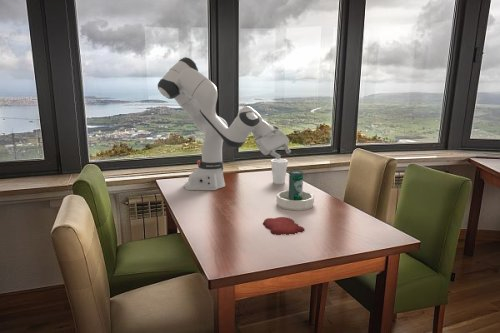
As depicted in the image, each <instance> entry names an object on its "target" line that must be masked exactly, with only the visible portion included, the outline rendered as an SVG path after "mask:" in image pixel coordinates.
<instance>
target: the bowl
mask: <svg viewBox="0 0 500 333" xmlns="http://www.w3.org/2000/svg"><path fill="white" fill-rule="evenodd" d="M288 199H289V189H288V190H282V191H279V192H278V193H276V200H275V201H276V204H277V205H276V206H278V207H279V208H281V209H283V210H287V211H295V212H297V211H307V210H310V209H312V208H313V207H314V203H315V195H314V194H313V193H312V192H308V191H305V190H302V200H299V201H295V200H288Z"/></svg>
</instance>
